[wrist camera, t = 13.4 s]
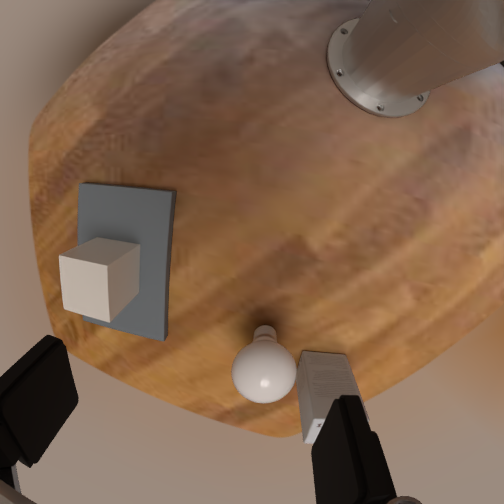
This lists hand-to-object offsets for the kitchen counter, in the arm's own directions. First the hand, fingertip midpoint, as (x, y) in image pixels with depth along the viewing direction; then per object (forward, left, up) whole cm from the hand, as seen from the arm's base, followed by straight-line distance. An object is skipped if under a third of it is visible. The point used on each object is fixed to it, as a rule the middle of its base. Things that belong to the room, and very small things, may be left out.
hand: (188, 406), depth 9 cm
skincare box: (+15, +12, -24) cm, 31 cm away
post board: (+5, -14, -24) cm, 28 cm away
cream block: (+5, -14, -23) cm, 27 cm away
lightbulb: (+11, +4, -24) cm, 27 cm away
